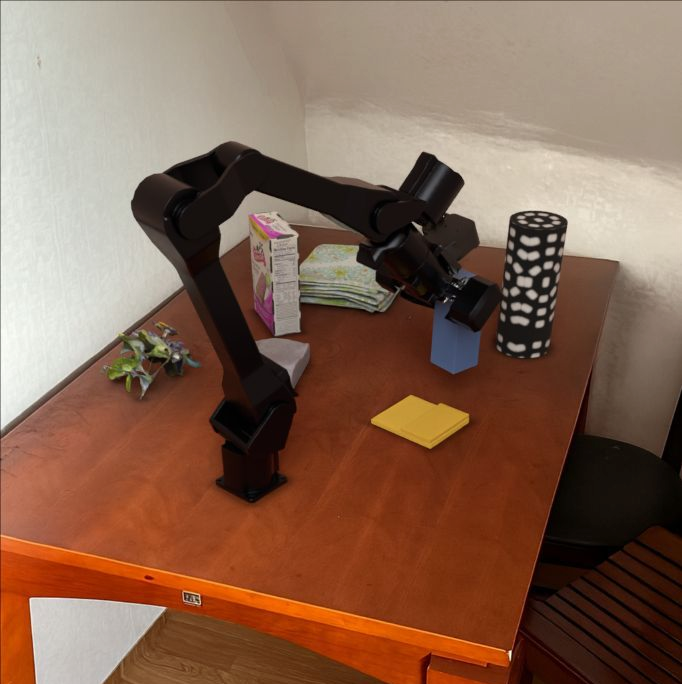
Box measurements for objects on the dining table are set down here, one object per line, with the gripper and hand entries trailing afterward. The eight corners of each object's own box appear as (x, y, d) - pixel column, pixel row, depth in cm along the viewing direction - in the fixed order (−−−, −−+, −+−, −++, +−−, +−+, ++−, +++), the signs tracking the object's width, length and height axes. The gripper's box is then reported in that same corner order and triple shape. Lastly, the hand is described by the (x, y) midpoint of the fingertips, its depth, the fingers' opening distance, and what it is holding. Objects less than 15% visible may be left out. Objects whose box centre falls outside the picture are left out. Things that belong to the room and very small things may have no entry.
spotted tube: (485, 339, 150) (499, 214, 138) (531, 331, 152) (548, 208, 140) (511, 361, 143) (527, 232, 131) (558, 353, 146) (579, 226, 134)
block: (453, 374, 127) (461, 287, 120) (430, 362, 130) (436, 276, 123) (477, 365, 130) (486, 279, 122) (454, 353, 133) (461, 268, 125)
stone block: (231, 401, 136) (296, 396, 133) (223, 370, 134) (289, 365, 131) (254, 366, 146) (316, 361, 143) (247, 337, 143) (309, 331, 141)
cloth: (430, 449, 123) (430, 440, 122) (370, 423, 128) (371, 415, 127) (469, 422, 129) (469, 414, 128) (410, 398, 134) (411, 390, 133)
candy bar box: (252, 310, 157) (246, 213, 148) (280, 306, 159) (277, 209, 149) (272, 338, 149) (268, 237, 139) (302, 333, 151) (300, 232, 141)
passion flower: (173, 408, 142) (216, 351, 136) (140, 432, 132) (184, 371, 126) (116, 359, 141) (156, 299, 135) (78, 379, 131) (120, 315, 126)
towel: (281, 304, 160) (281, 275, 157) (321, 260, 176) (320, 233, 173) (385, 318, 155) (386, 289, 152) (415, 272, 172) (417, 244, 169)
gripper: (501, 220, 108) (552, 288, 120) (395, 180, 120) (451, 246, 132) (446, 301, 109) (502, 361, 121) (346, 254, 121) (406, 312, 133)
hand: (465, 316), depth 127 cm, fingers closed on block, 4 cm apart
